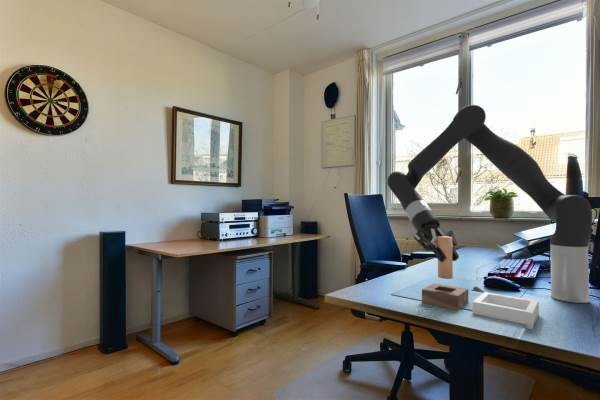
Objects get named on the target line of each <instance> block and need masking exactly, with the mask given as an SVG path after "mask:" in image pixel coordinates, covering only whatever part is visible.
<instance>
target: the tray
mask: <svg viewBox="0 0 600 400" xmlns="http://www.w3.org/2000/svg"><path fill="white" fill-rule="evenodd" d="M539 303H540V302H539V300H535V299H528V298H523V297H517V296H511V295H505V294H499V293H492V292H486V291H484V293H481V294H480V295H479V296H478V297H476V298H475V299H474V300H473V301H472V314H476V315H479V316H485V317H488V318H490V317H491V318H494V319H500V320H504V321H509V322H514V323H518V324H523V328H524V329H529V330H534V327H535V326H536V323H537V320H538V319H539V317H540V304H539Z"/></svg>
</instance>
